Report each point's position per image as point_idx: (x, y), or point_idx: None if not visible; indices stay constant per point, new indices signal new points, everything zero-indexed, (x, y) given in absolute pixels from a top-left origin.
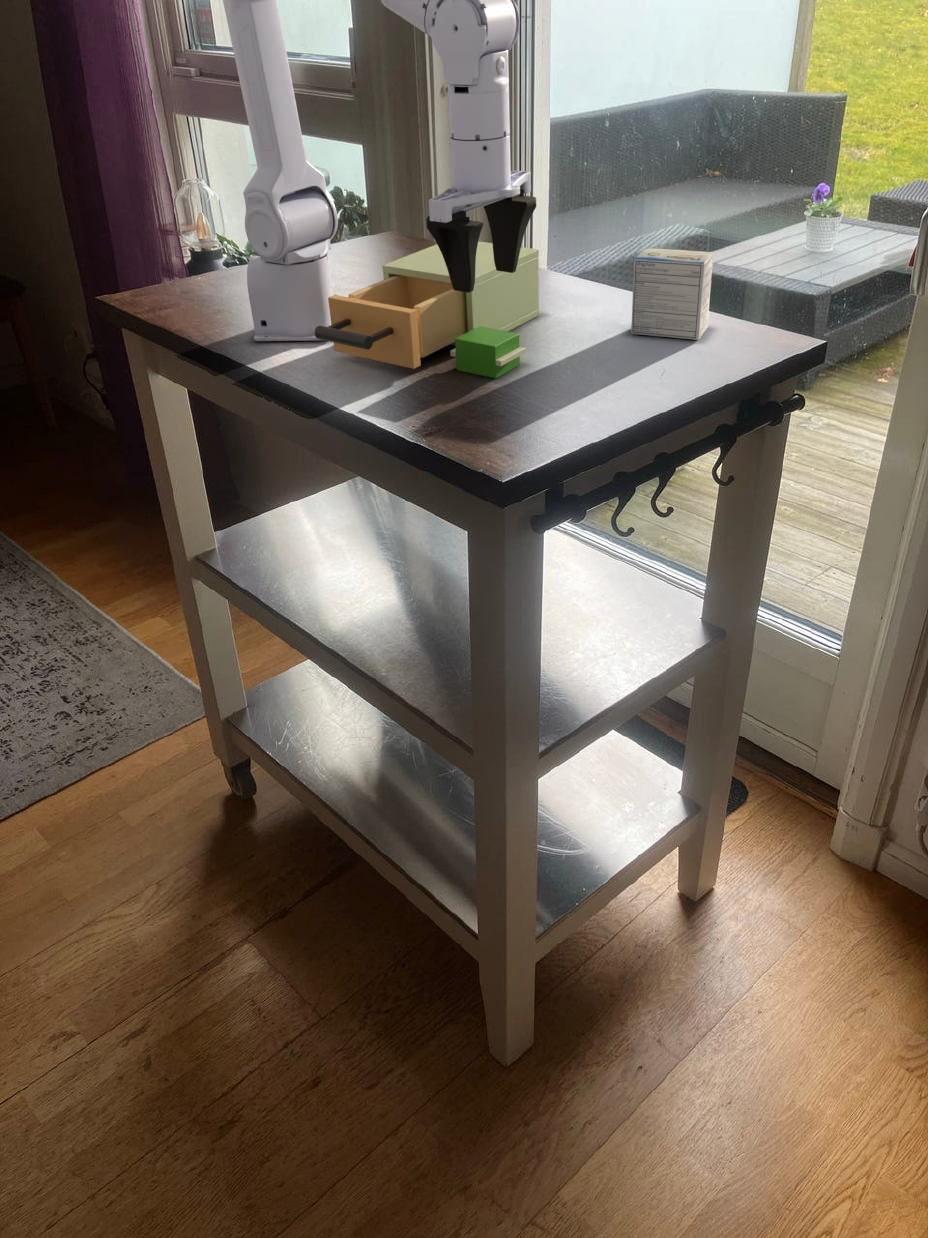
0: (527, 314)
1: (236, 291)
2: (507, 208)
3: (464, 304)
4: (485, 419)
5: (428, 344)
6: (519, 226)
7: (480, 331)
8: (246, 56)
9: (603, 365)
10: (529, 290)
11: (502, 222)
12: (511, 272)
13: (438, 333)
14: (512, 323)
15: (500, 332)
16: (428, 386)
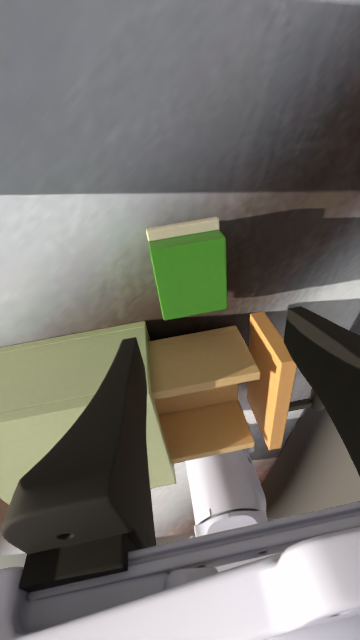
0: (10, 351)
1: (174, 513)
2: (136, 500)
3: None
4: (357, 108)
5: (227, 335)
6: (124, 417)
7: (183, 303)
8: None
9: (34, 94)
10: None
11: (139, 460)
12: (136, 338)
13: (206, 344)
14: (51, 342)
15: (166, 278)
16: (276, 272)
